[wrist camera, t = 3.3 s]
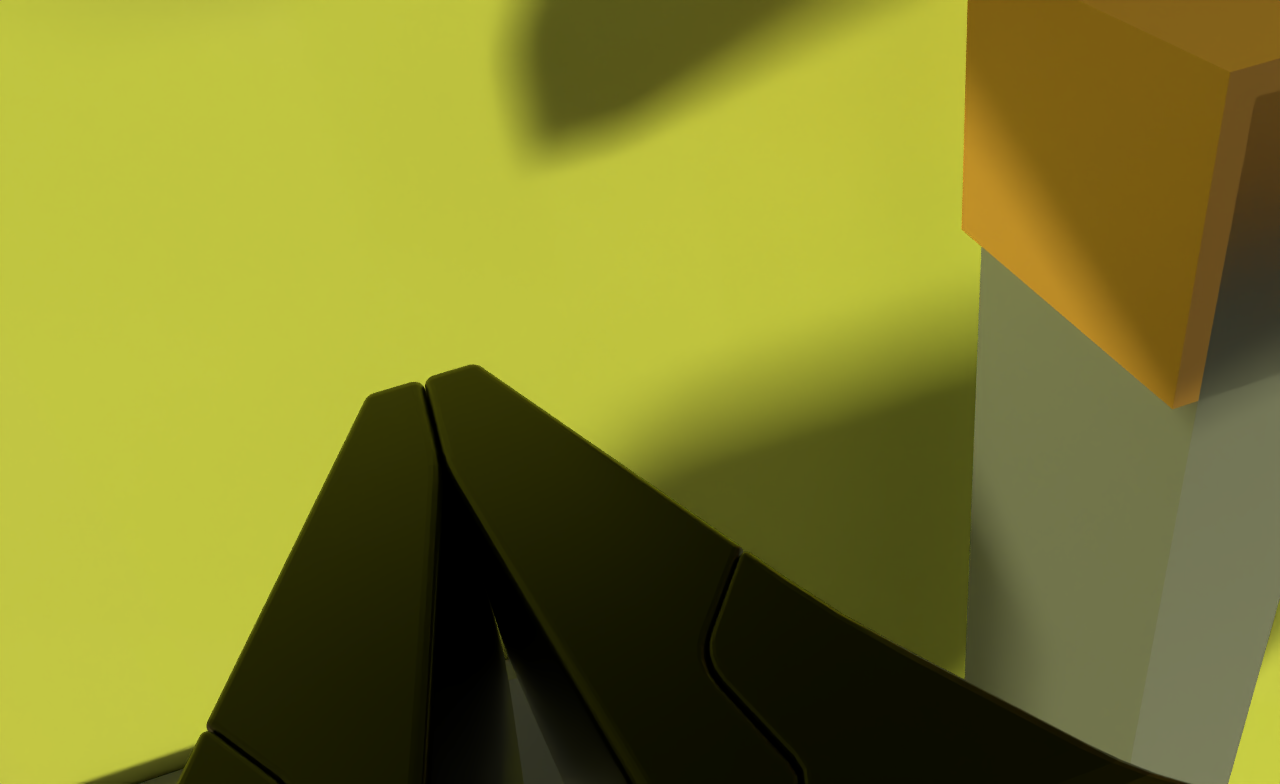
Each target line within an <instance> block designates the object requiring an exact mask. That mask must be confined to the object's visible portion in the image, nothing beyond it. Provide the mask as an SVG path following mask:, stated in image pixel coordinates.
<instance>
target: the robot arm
mask: <svg viewBox="0 0 1280 784" xmlns="http://www.w3.org/2000/svg"><path fill="white" fill-rule="evenodd" d="M425 390H426V391H425ZM493 613H494V614H493ZM494 616H495V617H494ZM495 619H496V621H495ZM496 622H497V624H496ZM497 625H498V628H499V631H500V634H501V637H502V640H503V643H504V646H505V649H506V652H507V655H508V657H509V660H510V662H511V665H512V667H513V670H514V672H515V675H516V677H517V680H518V682H519V684H520V686H521V689H522V691H523V693H524V695H525V697H526V700H527V702H528V704H529V706H530V709H531V711H532V713H533V715H534V718H535V720H536V722H537V724H538V727H539V729H540V731H541V733H542V735H543V738H544V740H545V742H546V744H547V747H548V749H549V751H550V753H551V756H552V758H553V760H554V762H555V765H556V767H557V769H558V771H559V773H560V776H561V778H562V780H563V782H564V784H1190V783H1187V782H1184V781H1180V780H1177V779H1173V778H1170V777H1167V776H1163V775H1160V774H1157V773H1154V772H1151V771H1149V770H1146V769H1144V768H1141V767H1139V766H1136V765H1133V764H1131V763H1128V762H1126V761H1123V760H1121V759H1119V758H1116V757H1114V756H1112V755H1110V754H1108V753H1106V752H1104V751H1102V750H1100V749H1098V748H1095V747H1093V746H1091V745H1089V744H1087V743H1085V742H1083V741H1081V740H1079V739H1078V738H1076V737H1074V736H1072V735H1070V734H1068V733H1066V732H1064V731H1062V730H1060V729H1058V728H1056V727H1054V726H1053V725H1051V724H1049V723H1047V722H1045V721H1043V720H1041V719H1039V718H1037V717H1035V716H1033V715H1031V714H1029V713H1028V712H1026V711H1024V710H1022V709H1020V708H1018V707H1016V706H1014V705H1012V704H1010V703H1008V702H1006V701H1005V700H1003V699H1001V698H999V697H997V696H995V695H993V694H991V693H989V692H987V691H985V690H983V689H981V688H980V687H978V686H976V685H974V684H972V683H970V682H968V681H966V680H964V679H962V678H960V677H958V676H957V675H955V674H953V673H951V672H949V671H947V670H945V669H943V668H941V667H939V666H937V665H935V664H933V663H932V662H930V661H928V660H926V659H924V658H922V657H920V656H918V655H916V654H914V653H912V652H911V651H909V650H907V649H905V648H903V647H901V646H900V645H898V644H896V643H894V642H892V641H891V640H889V639H887V638H885V637H884V636H882V635H880V634H878V633H876V632H875V631H873V630H871V629H869V628H867V627H866V626H864V625H862V624H860V623H858V622H857V621H855V620H853V619H851V618H849V617H848V616H846V615H844V614H842V613H841V612H839V611H837V610H836V609H834V608H833V607H831V606H830V605H828V604H827V603H825V602H823V601H822V600H820V599H819V598H817V597H816V596H814V595H813V594H811V593H809V592H808V591H806V590H805V589H803V588H802V587H800V586H799V585H797V584H795V583H794V582H792V581H791V580H789V579H788V578H786V577H785V576H783V575H782V574H780V573H779V572H777V571H776V570H774V569H773V568H772V567H770V566H769V565H767V564H766V563H765V562H763V561H762V560H760V559H759V558H757V557H756V556H755V555H753V554H752V553H750V552H744V553H743V549H742V548H741V547H740V546H739V545H738V544H737V543H735V542H734V541H732V540H731V539H729V538H728V537H726V536H725V535H723V534H722V533H721V532H719V531H718V530H716V529H715V528H713V527H712V526H710V525H709V524H708V523H706V522H705V521H703V520H702V519H700V518H699V517H697V516H696V515H695V514H693V513H692V512H690V511H689V510H687V509H686V508H684V507H683V506H682V505H680V504H679V503H677V502H676V501H674V500H673V499H671V498H670V497H669V496H667V495H666V494H664V493H663V492H661V491H660V490H658V489H657V488H656V487H654V486H653V485H651V484H650V483H648V482H647V481H645V480H644V479H643V478H641V477H640V476H638V475H637V474H635V473H634V472H632V471H631V470H630V469H628V468H627V467H625V466H624V465H622V464H621V463H619V462H618V461H617V460H615V459H614V458H612V457H611V456H609V455H608V454H606V453H605V452H604V451H602V450H601V449H599V448H598V447H596V446H595V445H593V444H592V443H590V442H589V441H588V440H586V439H585V438H583V437H582V436H580V435H579V434H577V433H576V432H575V431H573V430H572V429H570V428H569V427H567V426H566V425H564V424H563V423H562V422H560V421H559V420H557V419H556V418H554V417H553V416H551V415H550V414H549V413H547V412H546V411H544V410H543V409H541V408H540V407H538V406H537V405H536V404H534V403H533V402H531V401H530V400H528V399H527V398H525V397H524V396H523V395H521V394H520V393H518V392H517V391H515V390H514V389H512V388H511V387H510V386H508V385H507V384H505V383H504V382H502V381H501V380H499V379H498V378H497V377H495V376H494V375H492V374H491V373H489V372H488V371H486V370H485V369H484V368H482V367H481V366H479V365H474V364H472V365H467V366H464V367H460V368H457V369H454V370H450V371H447V372H444V373H440V374H437V375H434V376H431V377H430V378H429V379H428V380H427V381H426V384H425V388H424V386H423V385H422V384H420V383H418V382H410V383H407V384H403V385H400V386H396V387H393V388H390V389H386V390H383V391H379V392H376V393H373V394H371V395H369V396H368V397H367V398H366V400H365V401H364V403H363V405H362V407H361V409H360V411H359V413H358V415H357V417H356V420H355V422H354V424H353V426H352V428H351V430H350V432H349V434H348V436H347V438H346V440H345V442H344V444H343V446H342V448H341V450H340V452H339V454H338V456H337V458H336V460H335V462H334V464H333V466H332V469H331V471H330V473H329V475H328V477H327V479H326V481H325V483H324V485H323V487H322V489H321V491H320V493H319V495H318V497H317V499H316V501H315V503H314V505H313V507H312V509H311V511H310V513H309V515H308V517H307V520H306V522H305V524H304V526H303V528H302V530H301V532H300V534H299V536H298V538H297V540H296V542H295V544H294V546H293V548H292V550H291V552H290V554H289V556H288V558H287V560H286V562H285V564H284V566H283V569H282V571H281V573H280V575H279V577H278V579H277V581H276V583H275V585H274V587H273V589H272V591H271V593H270V595H269V597H268V599H267V601H266V603H265V605H264V607H263V609H262V611H261V613H260V615H259V617H258V620H257V622H256V624H255V626H254V628H253V630H252V632H251V634H250V636H249V638H248V640H247V642H246V644H245V646H244V648H243V650H242V652H241V654H240V656H239V658H238V660H237V662H236V664H235V666H234V669H233V671H232V673H231V675H230V677H229V679H228V681H227V683H226V685H225V687H224V689H223V691H222V693H221V695H220V697H219V699H218V701H217V703H216V705H215V707H214V709H213V711H212V713H211V715H210V717H209V720H208V722H207V730H208V731H206V732H204V733H202V734H201V735H200V737H199V739H198V741H197V743H196V745H195V747H194V749H193V751H192V753H191V755H190V757H189V759H188V761H187V763H186V765H185V767H184V769H183V771H182V773H181V775H180V778H179V780H178V782H177V783H176V784H524V782H523V775H522V768H521V761H520V754H519V747H518V740H517V733H516V726H515V720H514V713H513V706H512V699H511V692H510V685H509V679H508V673H507V668H506V662H505V657H504V652H503V648H502V644H501V640H500V636H499V632H498V628H497Z"/></svg>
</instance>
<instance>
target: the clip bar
mask: <svg viewBox="0 0 1280 784" xmlns="http://www.w3.org/2000/svg"><path fill="white" fill-rule="evenodd" d="M962 230H963V231H964V232H965V233H966V234H967V235H969V236H970V237H971V238H972V239H973V240H975V241H976V242H977V243H978V244H979V245H980V246H982V247H981V272H980V298H979V324H978V350H977V375H976V401H975V427H974V453H973V479H972V504H971V530H970V556H969V582H968V607H967V633H966V659H965V680H966V681H968V682H970V683H972V684H974V685H976V686H978V687H980V688H981V689H983V690H985V691H987V692H989V693H991V694H993V695H995V696H997V697H999V698H1001V699H1003V700H1005V701H1006V702H1008V703H1010V704H1012V705H1014V706H1016V707H1018V708H1020V709H1022V710H1024V711H1026V712H1028V713H1029V714H1031V715H1033V716H1035V717H1037V718H1039V719H1041V720H1043V721H1045V722H1047V723H1049V724H1051V725H1053V726H1054V727H1056V728H1058V729H1060V730H1062V731H1064V732H1066V733H1068V734H1070V735H1072V736H1074V737H1076V738H1078V739H1079V740H1081V741H1083V742H1085V743H1087V744H1089V745H1091V746H1093V747H1095V748H1098V749H1100V750H1102V751H1104V752H1106V753H1108V754H1110V755H1112V756H1114V757H1116V758H1119V759H1121V760H1123V761H1126V762H1128V763H1131V764H1133V765H1136V766H1139V767H1141V768H1144V769H1146V770H1149V771H1151V772H1154V773H1157V774H1160V775H1163V776H1167V777H1170V778H1173V779H1177V780H1180V781H1184V782H1187V783H1190V784H1228V782H1229V778H1230V775H1231V771H1232V768H1233V764H1234V761H1235V757H1236V753H1237V750H1238V746H1239V743H1240V739H1241V735H1242V732H1243V728H1244V725H1245V721H1246V717H1247V714H1248V710H1249V707H1250V703H1251V700H1252V696H1253V692H1254V689H1255V685H1256V682H1257V678H1258V674H1259V671H1260V667H1261V664H1262V660H1263V656H1264V653H1265V649H1266V646H1267V642H1268V639H1269V635H1270V631H1271V628H1272V624H1273V621H1274V617H1275V613H1276V610H1277V606H1278V603H1279V599H1280V0H968V9H967V47H966V85H965V123H964V160H963V198H962Z"/></svg>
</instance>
